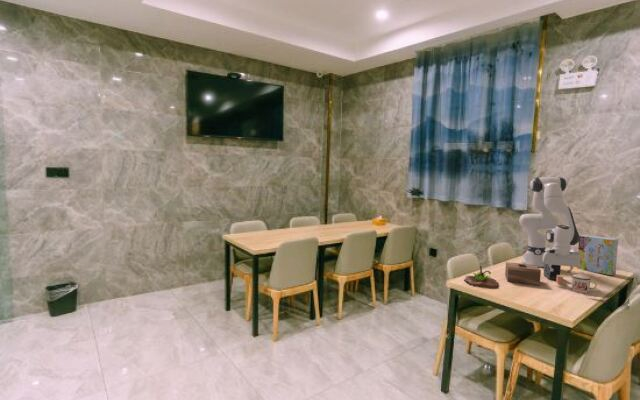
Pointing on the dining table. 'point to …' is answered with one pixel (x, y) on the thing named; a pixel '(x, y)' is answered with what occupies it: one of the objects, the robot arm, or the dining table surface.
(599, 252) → the snack box
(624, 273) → the dining table surface
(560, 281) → the orange block
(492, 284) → the plant
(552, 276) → the small box
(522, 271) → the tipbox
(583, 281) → the teacup with lid
